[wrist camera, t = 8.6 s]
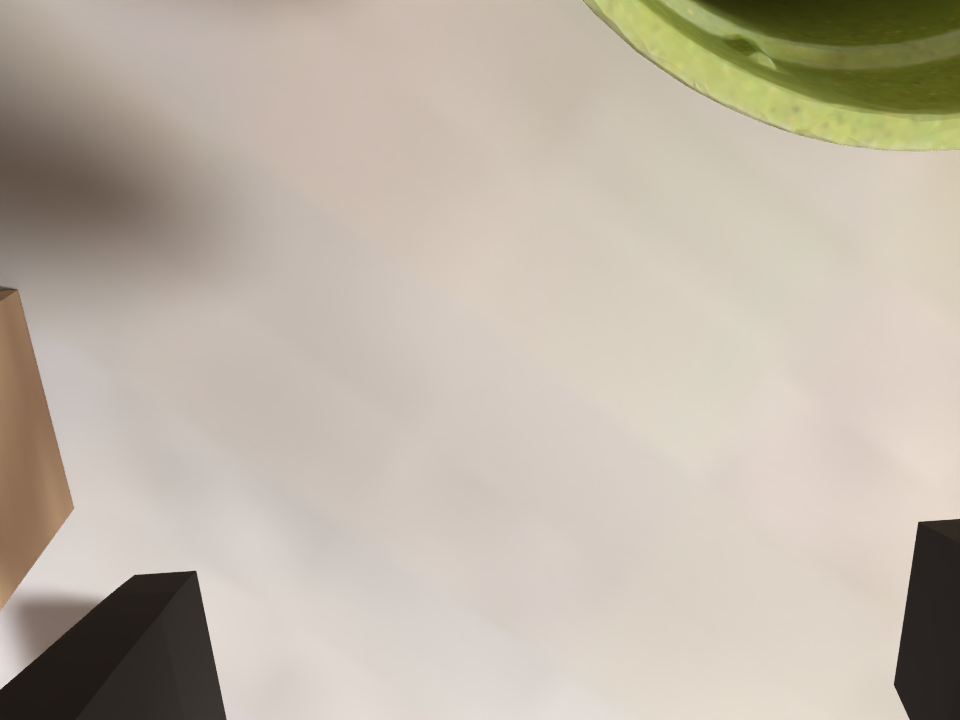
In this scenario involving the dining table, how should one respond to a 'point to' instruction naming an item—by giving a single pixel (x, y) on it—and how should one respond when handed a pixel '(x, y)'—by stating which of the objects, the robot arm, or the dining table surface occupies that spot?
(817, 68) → the plant pot
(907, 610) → the robot arm
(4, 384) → the tethered block
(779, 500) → the dining table surface
